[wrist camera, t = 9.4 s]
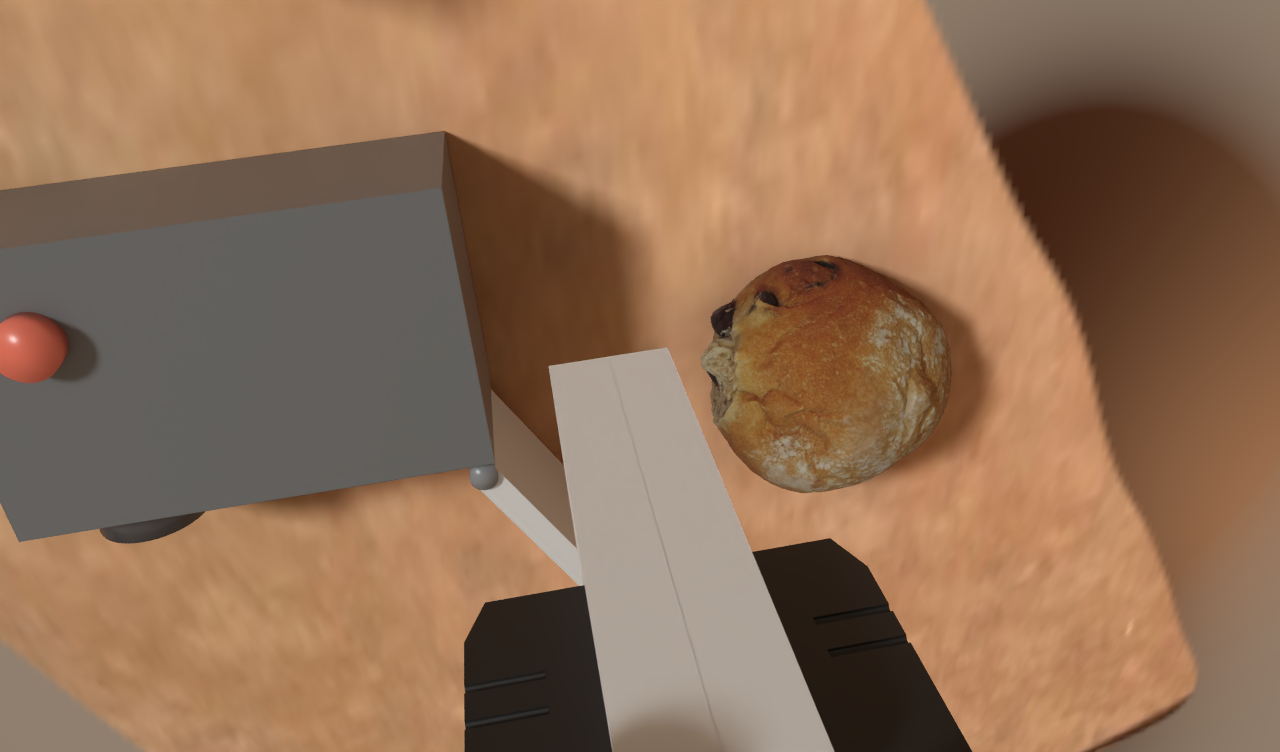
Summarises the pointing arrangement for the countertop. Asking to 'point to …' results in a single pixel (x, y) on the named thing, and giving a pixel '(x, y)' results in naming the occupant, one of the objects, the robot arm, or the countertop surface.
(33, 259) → the box with round dial
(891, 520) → the countertop surface
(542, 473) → the side door
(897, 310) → the bread roll
